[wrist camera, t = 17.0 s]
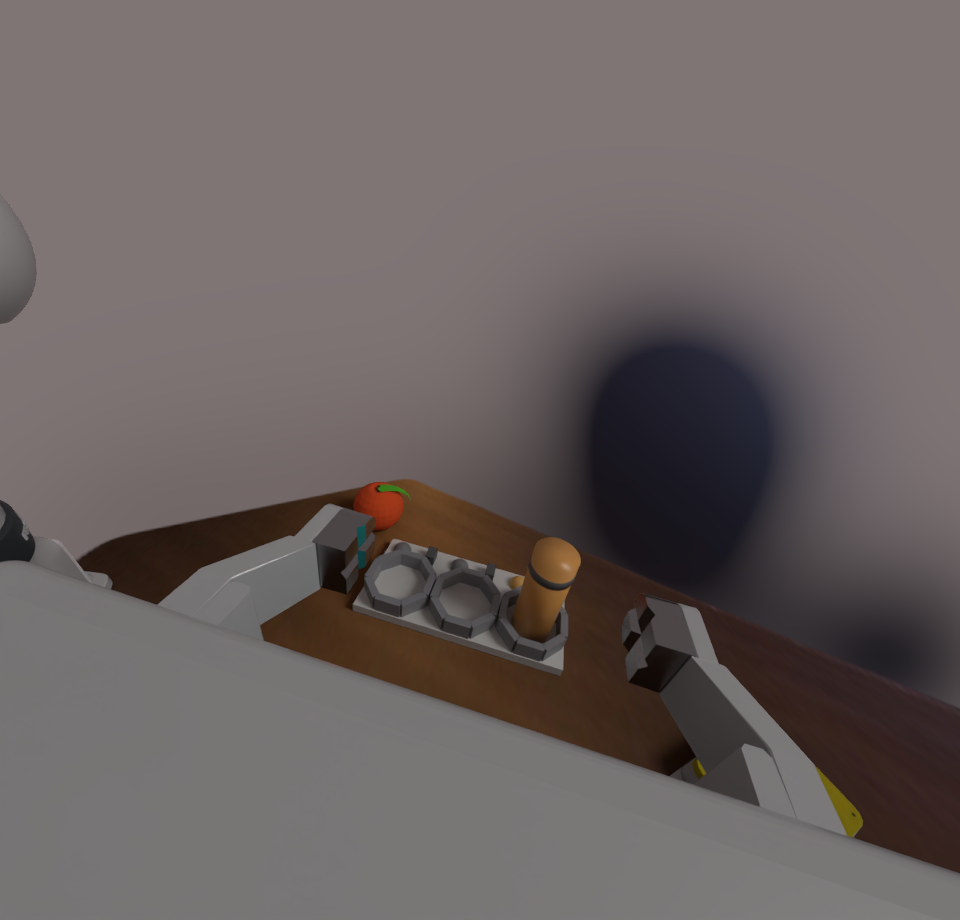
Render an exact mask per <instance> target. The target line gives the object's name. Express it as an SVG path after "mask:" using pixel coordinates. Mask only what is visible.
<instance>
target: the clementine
mask: <svg viewBox="0 0 960 920" xmlns="http://www.w3.org/2000/svg"><path fill="white" fill-rule="evenodd" d="M400 492H401V493H404V494H406V495H408V494H407V493H406V492H405V491H404V490H402V489H401V488H399V487H396V486H393V485H391V484H388V483H384V482H374V483H370V484H368V485H366V486H364V487H363V488H362V489H361V490H360V491H359V492H358V493H357V495H356V497H355V500H354V505H353V509H354V511H356V512H359V513H363V514H366V515H369V516H372V517H374V518H375V519H376V527H375V528H374V530H376V531H379V530H385V529H388V528H389V527H391V526H393V525H394V524H395V523H396V522H397V521H398V520H399V518H400V517H401V515H402V511H403V499H402V496H401V494H400ZM408 496H409V495H408ZM409 498H410V497H409ZM410 500H411V499H410Z"/></svg>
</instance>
